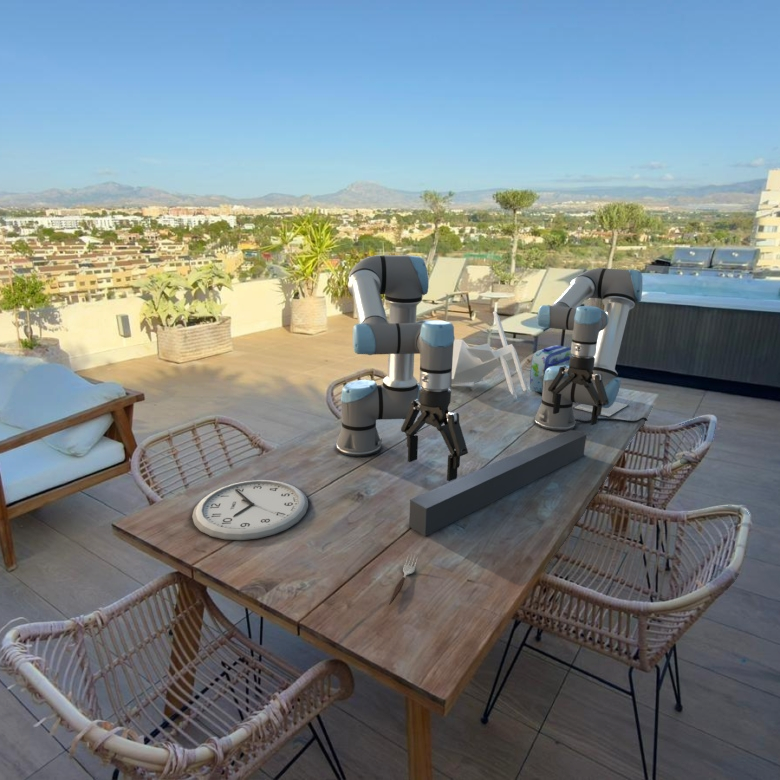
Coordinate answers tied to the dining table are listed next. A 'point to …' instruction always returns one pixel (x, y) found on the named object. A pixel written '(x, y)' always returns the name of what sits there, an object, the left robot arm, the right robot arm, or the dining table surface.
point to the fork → (407, 571)
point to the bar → (492, 482)
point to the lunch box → (547, 364)
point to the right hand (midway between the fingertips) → (574, 418)
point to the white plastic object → (485, 361)
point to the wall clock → (250, 510)
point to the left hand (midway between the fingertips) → (431, 469)
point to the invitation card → (604, 411)
